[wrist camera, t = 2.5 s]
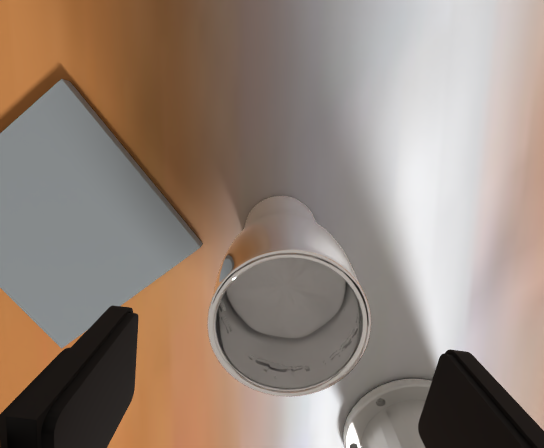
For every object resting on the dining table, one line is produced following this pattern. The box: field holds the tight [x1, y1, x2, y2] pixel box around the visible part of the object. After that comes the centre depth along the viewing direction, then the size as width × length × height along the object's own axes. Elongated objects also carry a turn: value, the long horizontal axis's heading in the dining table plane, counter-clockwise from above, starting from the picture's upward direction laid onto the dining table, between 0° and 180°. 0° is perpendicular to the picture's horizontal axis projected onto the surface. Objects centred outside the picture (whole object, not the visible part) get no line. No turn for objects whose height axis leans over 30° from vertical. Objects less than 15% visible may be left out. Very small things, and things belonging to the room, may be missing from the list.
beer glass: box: [207, 196, 371, 397], centre depth 20 cm, size 7×7×15 cm
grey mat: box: [0, 79, 203, 348], centre depth 27 cm, size 16×16×1 cm
